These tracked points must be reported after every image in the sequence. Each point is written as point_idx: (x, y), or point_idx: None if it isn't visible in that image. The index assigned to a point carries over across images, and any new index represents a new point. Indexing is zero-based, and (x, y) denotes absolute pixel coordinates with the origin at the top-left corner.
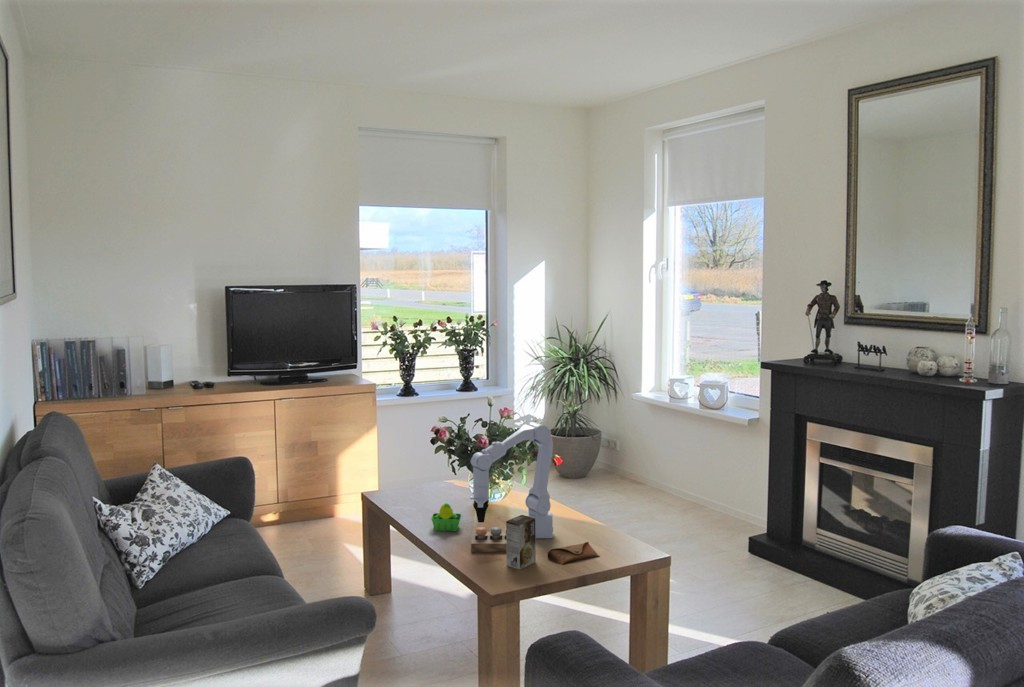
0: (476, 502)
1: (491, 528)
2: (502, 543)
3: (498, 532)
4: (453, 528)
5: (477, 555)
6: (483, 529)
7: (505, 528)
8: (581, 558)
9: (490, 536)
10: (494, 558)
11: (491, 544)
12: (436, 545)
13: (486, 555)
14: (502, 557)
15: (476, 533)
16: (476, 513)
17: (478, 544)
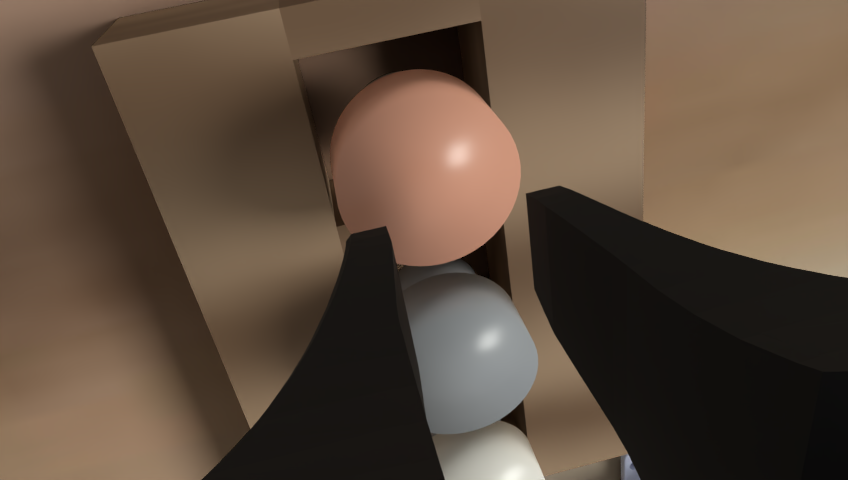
0: (798, 461)
1: (462, 322)
2: (245, 412)
3: None
4: None
5: (11, 136)
6: (397, 229)
7: (485, 466)
8: None
9: None
10: (5, 336)
11: (203, 303)
12: None
13: (61, 237)
14: (74, 394)
15: (363, 94)
16: (303, 354)
17: (141, 150)
